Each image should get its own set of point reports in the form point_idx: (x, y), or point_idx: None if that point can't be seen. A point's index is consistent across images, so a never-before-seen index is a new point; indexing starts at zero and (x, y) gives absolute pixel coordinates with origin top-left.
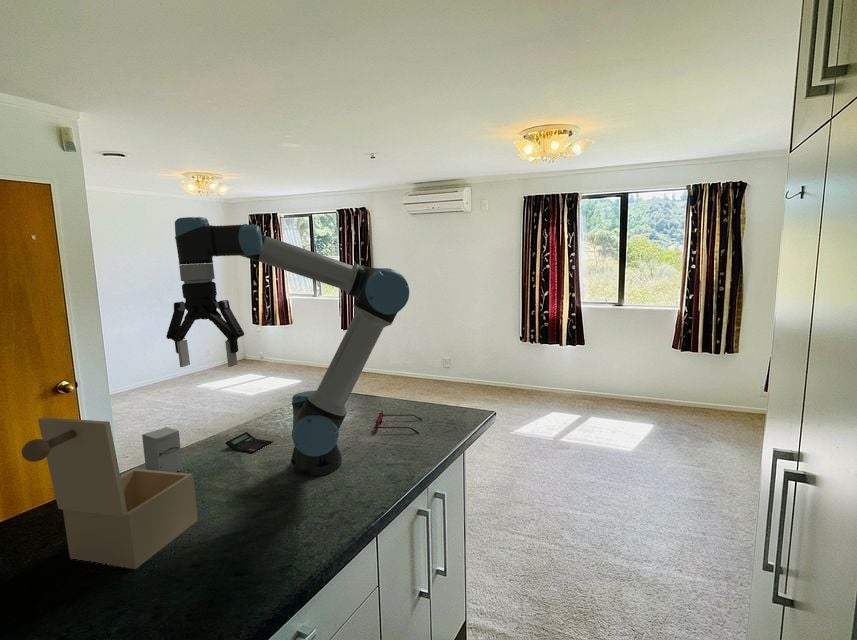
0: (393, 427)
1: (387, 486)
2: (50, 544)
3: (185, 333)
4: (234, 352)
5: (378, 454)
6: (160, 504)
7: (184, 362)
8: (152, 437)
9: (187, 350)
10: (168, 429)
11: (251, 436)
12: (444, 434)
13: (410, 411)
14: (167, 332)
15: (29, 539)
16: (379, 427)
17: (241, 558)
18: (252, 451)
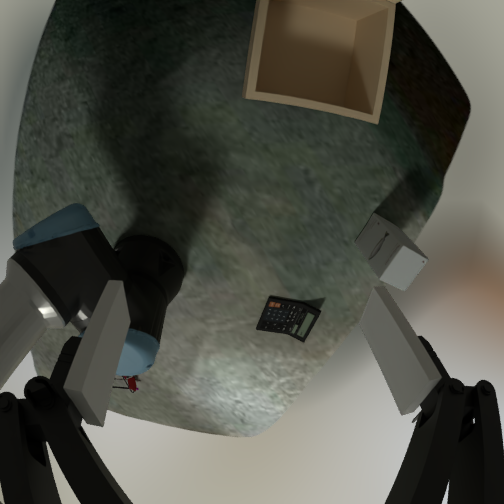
0: None
1: (33, 221)
2: (407, 54)
3: (414, 440)
4: (71, 338)
5: None
6: (255, 23)
7: (375, 310)
8: (409, 249)
9: (384, 369)
10: (397, 281)
11: (294, 336)
12: (48, 345)
13: (119, 399)
14: (497, 406)
15: (436, 70)
16: None
17: (126, 31)
18: (271, 300)
